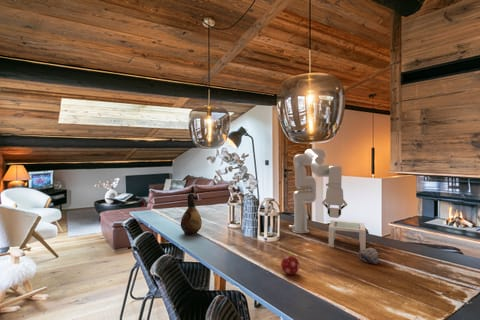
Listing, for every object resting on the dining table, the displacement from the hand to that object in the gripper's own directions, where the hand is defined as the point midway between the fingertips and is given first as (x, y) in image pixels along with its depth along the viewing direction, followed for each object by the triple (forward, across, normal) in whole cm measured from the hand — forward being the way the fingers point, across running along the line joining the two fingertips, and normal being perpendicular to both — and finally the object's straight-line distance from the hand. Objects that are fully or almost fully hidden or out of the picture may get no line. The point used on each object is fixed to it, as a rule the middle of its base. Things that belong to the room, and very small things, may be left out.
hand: (334, 215), depth 169 cm
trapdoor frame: (+22, +8, +17) cm, 29 cm away
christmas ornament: (+21, -17, -45) cm, 52 cm away
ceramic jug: (+23, -100, -2) cm, 103 cm away
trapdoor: (+10, +7, +17) cm, 21 cm away
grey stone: (+1, 0, 0) cm, 1 cm away
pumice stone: (+21, +19, -12) cm, 31 cm away
